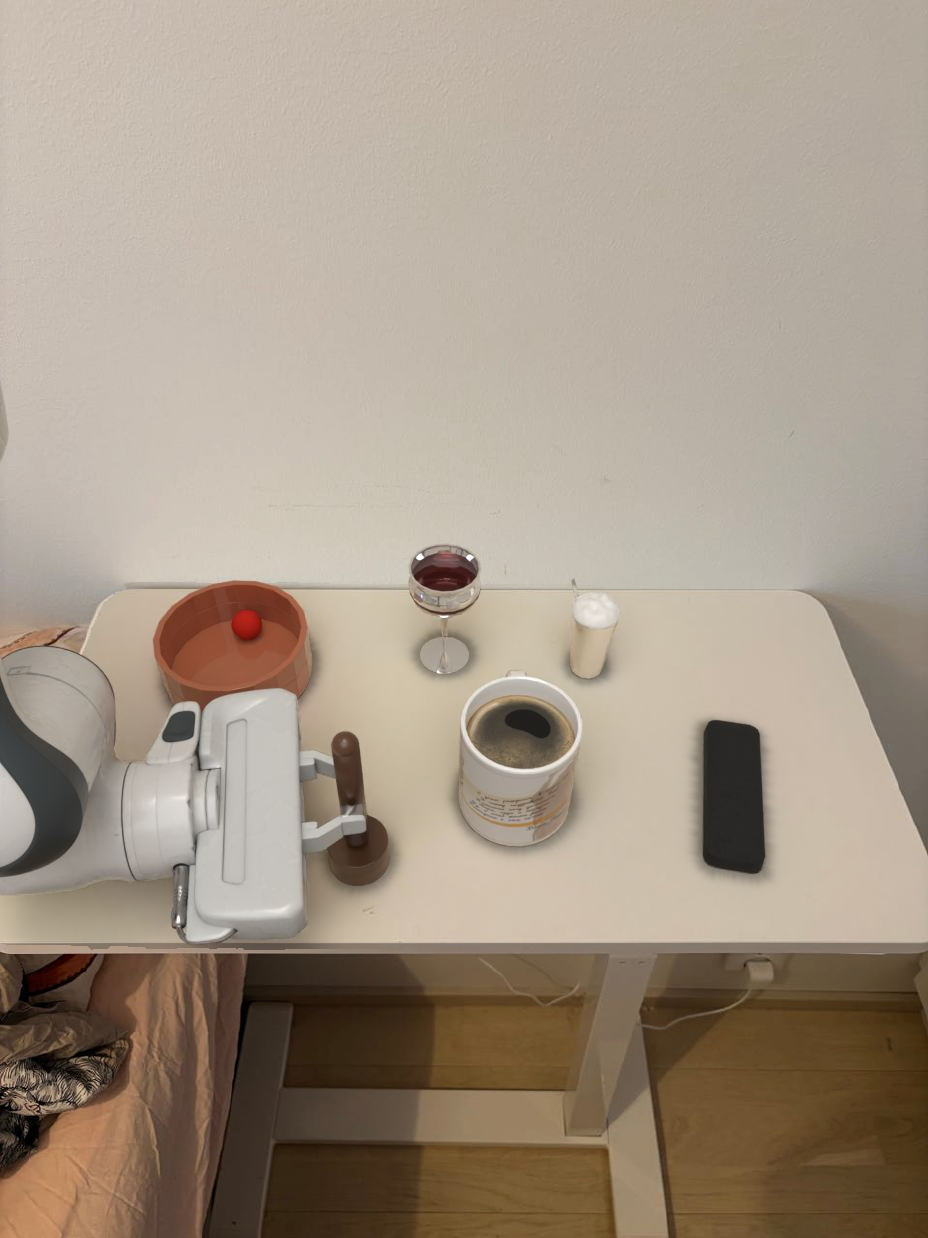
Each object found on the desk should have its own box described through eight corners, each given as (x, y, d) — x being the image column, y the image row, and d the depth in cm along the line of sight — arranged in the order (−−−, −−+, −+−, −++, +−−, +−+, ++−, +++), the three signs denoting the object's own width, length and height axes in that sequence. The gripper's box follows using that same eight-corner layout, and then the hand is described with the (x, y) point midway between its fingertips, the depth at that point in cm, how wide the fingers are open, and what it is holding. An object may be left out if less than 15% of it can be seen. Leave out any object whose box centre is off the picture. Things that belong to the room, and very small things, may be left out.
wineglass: (468, 625, 97) (471, 538, 88) (486, 673, 92) (490, 586, 84) (404, 636, 95) (400, 549, 87) (419, 686, 91) (416, 599, 82)
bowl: (171, 742, 86) (158, 705, 82) (161, 633, 95) (148, 595, 91) (324, 709, 89) (318, 672, 85) (299, 607, 98) (293, 569, 94)
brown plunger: (336, 893, 76) (315, 773, 64) (324, 840, 79) (302, 717, 67) (395, 877, 77) (386, 757, 65) (382, 826, 80) (371, 702, 68)
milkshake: (577, 638, 96) (588, 567, 88) (618, 667, 93) (632, 596, 86) (547, 661, 93) (556, 590, 86) (588, 691, 91) (601, 621, 84)
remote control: (761, 878, 78) (756, 732, 88) (766, 868, 76) (761, 721, 86) (701, 868, 78) (703, 724, 88) (705, 858, 77) (707, 713, 87)
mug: (429, 802, 82) (428, 725, 74) (508, 716, 89) (515, 637, 81) (528, 868, 78) (538, 794, 70) (603, 773, 84) (620, 696, 76)
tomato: (235, 648, 93) (230, 627, 91) (232, 627, 95) (227, 606, 93) (265, 642, 94) (261, 621, 92) (261, 621, 96) (257, 600, 94)
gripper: (158, 928, 60) (372, 900, 62) (177, 686, 74) (351, 668, 76) (178, 969, 65) (377, 942, 66) (193, 733, 79) (357, 716, 80)
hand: (363, 794), depth 71 cm, fingers open, 3 cm apart
